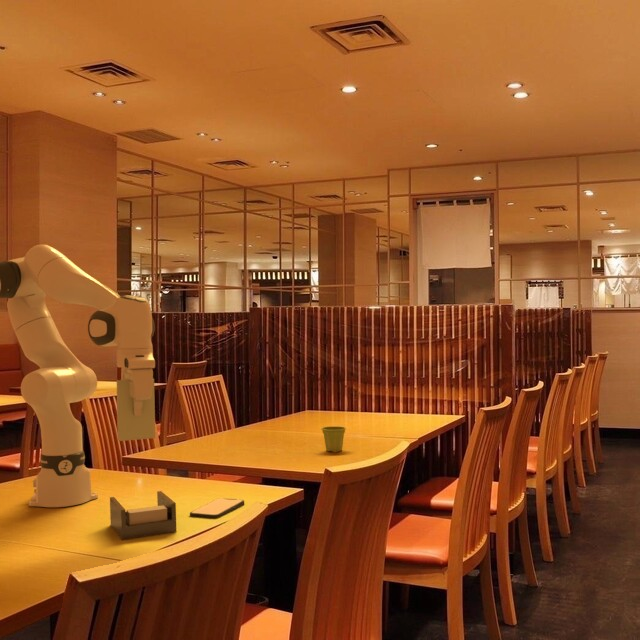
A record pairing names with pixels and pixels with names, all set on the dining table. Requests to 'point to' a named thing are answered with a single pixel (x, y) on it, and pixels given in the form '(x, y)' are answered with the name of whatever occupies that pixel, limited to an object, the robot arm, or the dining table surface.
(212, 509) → the phone case
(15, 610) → the dining table surface
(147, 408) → the tall sheet
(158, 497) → the rack
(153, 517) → the offcut upper
